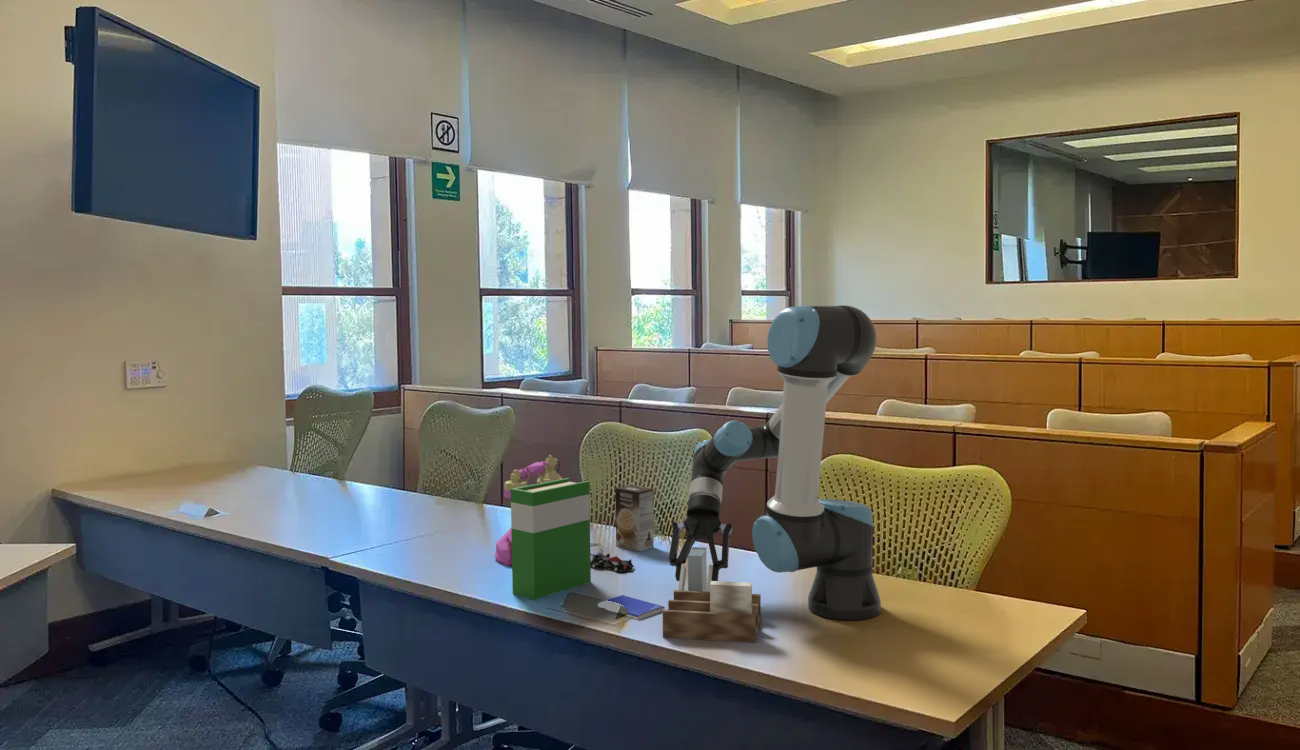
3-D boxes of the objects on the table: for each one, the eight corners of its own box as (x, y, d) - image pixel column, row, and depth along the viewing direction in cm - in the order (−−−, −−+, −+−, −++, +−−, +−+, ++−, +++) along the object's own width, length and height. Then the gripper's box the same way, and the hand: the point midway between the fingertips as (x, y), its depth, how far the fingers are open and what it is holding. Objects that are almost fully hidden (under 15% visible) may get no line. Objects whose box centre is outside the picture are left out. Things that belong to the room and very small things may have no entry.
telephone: (549, 572, 231) (548, 471, 229) (468, 565, 238) (466, 467, 236) (603, 538, 264) (602, 450, 263) (530, 533, 272) (529, 447, 270)
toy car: (600, 563, 240) (600, 547, 240) (639, 569, 234) (639, 553, 234) (586, 568, 235) (586, 552, 235) (626, 575, 229) (626, 559, 228)
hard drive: (664, 605, 201) (623, 594, 210) (638, 614, 195) (596, 602, 204) (664, 613, 201) (623, 601, 210) (638, 622, 195) (596, 609, 204)
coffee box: (614, 546, 256) (613, 487, 255) (630, 541, 261) (630, 484, 260) (638, 551, 250) (638, 491, 249) (655, 547, 255) (654, 488, 254)
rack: (760, 619, 195) (760, 570, 194) (755, 642, 181) (754, 590, 181) (674, 614, 199) (674, 566, 198) (662, 637, 185) (662, 585, 184)
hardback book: (568, 576, 227) (567, 477, 226) (590, 582, 223) (589, 481, 221) (512, 593, 214) (510, 488, 213) (534, 600, 209) (532, 492, 208)
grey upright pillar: (706, 601, 207) (706, 547, 206) (702, 611, 200) (702, 556, 199) (693, 601, 208) (692, 547, 207) (688, 611, 201) (688, 555, 200)
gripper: (746, 512, 215) (739, 605, 201) (667, 509, 219) (654, 601, 204) (744, 494, 210) (736, 588, 195) (662, 491, 213) (649, 584, 198)
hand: (694, 594), depth 200 cm, fingers open, 5 cm apart
